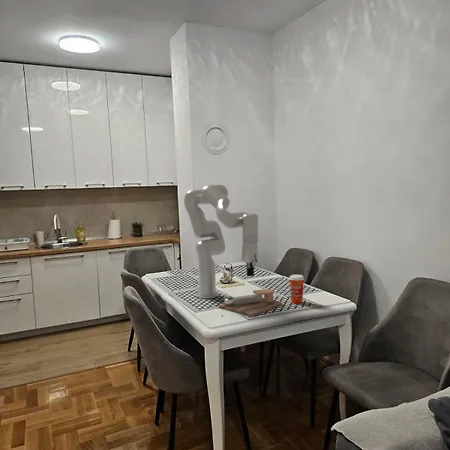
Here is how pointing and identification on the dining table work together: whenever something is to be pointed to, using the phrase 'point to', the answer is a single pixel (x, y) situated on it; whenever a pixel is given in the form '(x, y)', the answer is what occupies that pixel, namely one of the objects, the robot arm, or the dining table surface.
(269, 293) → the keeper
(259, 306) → the board
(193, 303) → the dining table surface
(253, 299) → the link
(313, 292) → the dining table surface
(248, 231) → the robot arm
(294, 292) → the paper cup
